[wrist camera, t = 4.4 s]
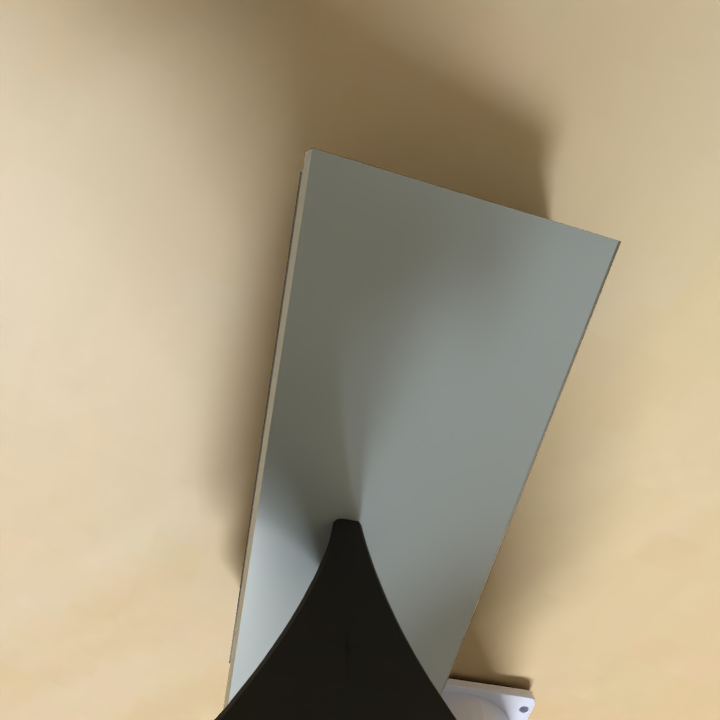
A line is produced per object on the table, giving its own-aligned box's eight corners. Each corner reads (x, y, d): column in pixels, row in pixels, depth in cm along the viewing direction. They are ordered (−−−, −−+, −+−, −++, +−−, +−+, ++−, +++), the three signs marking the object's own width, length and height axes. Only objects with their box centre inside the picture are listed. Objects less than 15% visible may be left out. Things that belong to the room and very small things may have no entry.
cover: (433, 691, 17) (440, 706, 17) (216, 760, 14) (216, 782, 13) (606, 241, 11) (625, 243, 11) (305, 152, 8) (312, 147, 7)
